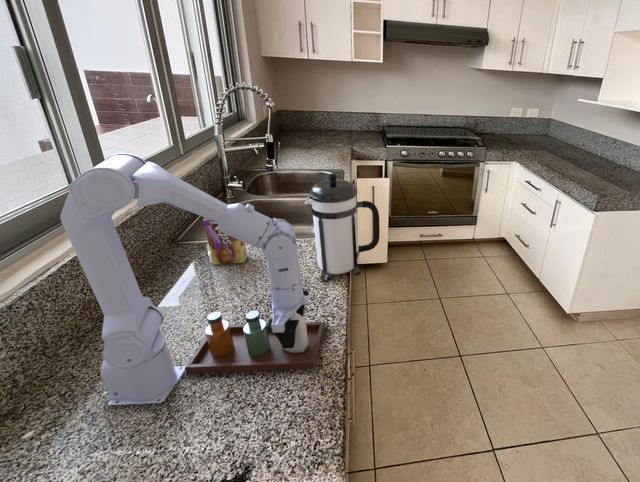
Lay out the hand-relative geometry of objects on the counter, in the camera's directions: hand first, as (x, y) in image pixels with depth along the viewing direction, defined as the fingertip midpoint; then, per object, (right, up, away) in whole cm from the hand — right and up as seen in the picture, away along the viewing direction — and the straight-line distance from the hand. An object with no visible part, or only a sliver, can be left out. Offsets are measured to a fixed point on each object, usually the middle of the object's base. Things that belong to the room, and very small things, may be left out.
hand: (293, 334), depth 73 cm
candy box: (-32, +10, +33) cm, 47 cm away
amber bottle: (-15, -3, 0) cm, 15 cm away
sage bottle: (-8, -3, +1) cm, 8 cm away
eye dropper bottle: (0, -3, +1) cm, 4 cm away
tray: (-7, -4, +1) cm, 8 cm away
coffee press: (+4, +8, +32) cm, 33 cm away
